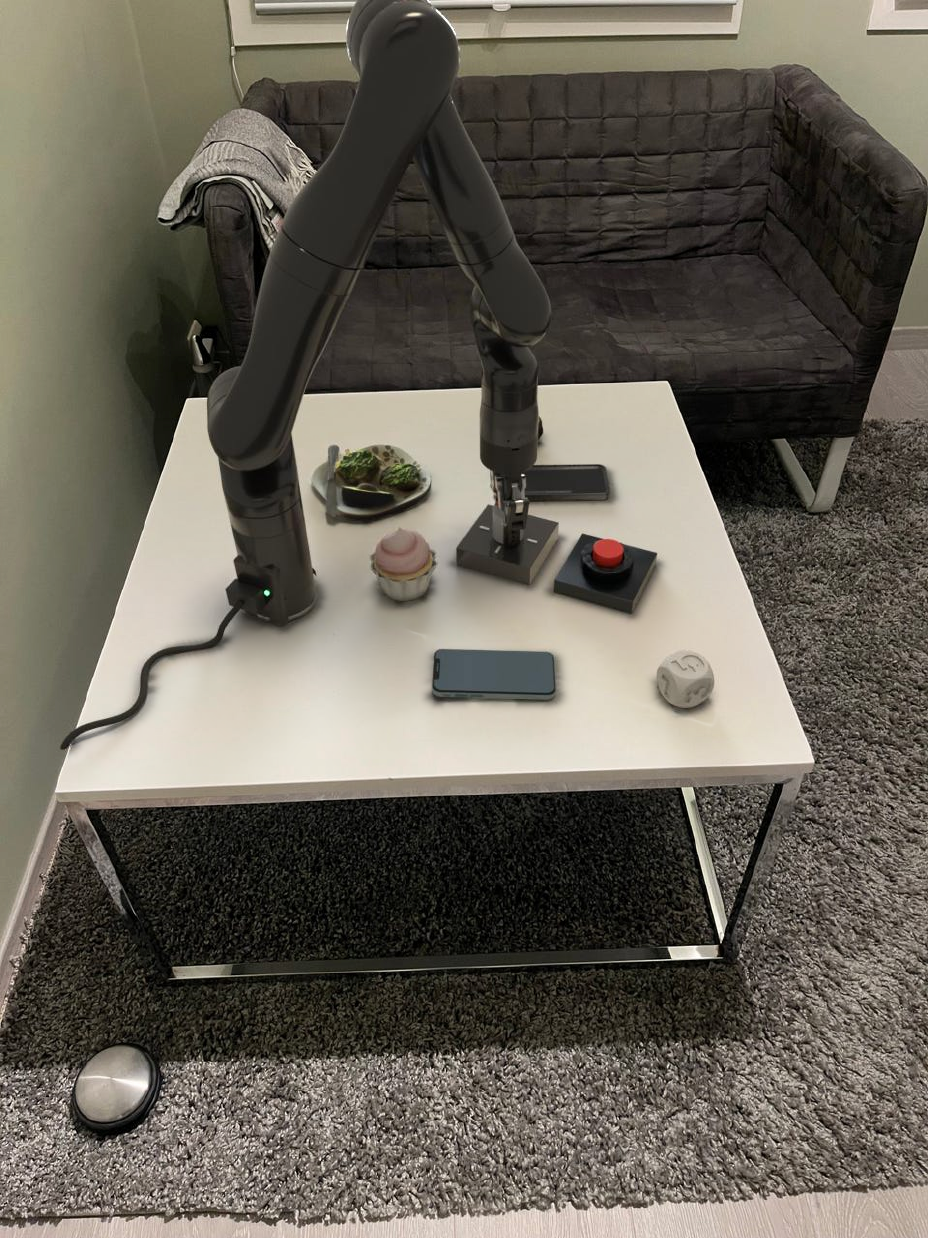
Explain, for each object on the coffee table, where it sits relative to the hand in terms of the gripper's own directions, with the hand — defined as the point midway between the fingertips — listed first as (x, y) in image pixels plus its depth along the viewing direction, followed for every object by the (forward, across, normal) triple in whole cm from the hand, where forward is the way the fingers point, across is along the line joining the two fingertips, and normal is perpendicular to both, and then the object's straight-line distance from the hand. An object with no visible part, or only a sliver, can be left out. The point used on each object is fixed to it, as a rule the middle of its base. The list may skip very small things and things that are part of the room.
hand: (507, 533), depth 141 cm
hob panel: (+3, 0, 0) cm, 3 cm away
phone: (+3, -14, +11) cm, 18 cm away
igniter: (+3, +8, +12) cm, 15 cm away
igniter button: (0, +8, +12) cm, 15 cm away
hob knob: (0, 0, 0) cm, 0 cm away
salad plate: (+3, -19, -17) cm, 26 cm away
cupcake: (+4, +4, -15) cm, 16 cm away
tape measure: (+3, -27, +8) cm, 28 cm away
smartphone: (+4, +24, -7) cm, 25 cm away
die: (+4, +31, +15) cm, 34 cm away
